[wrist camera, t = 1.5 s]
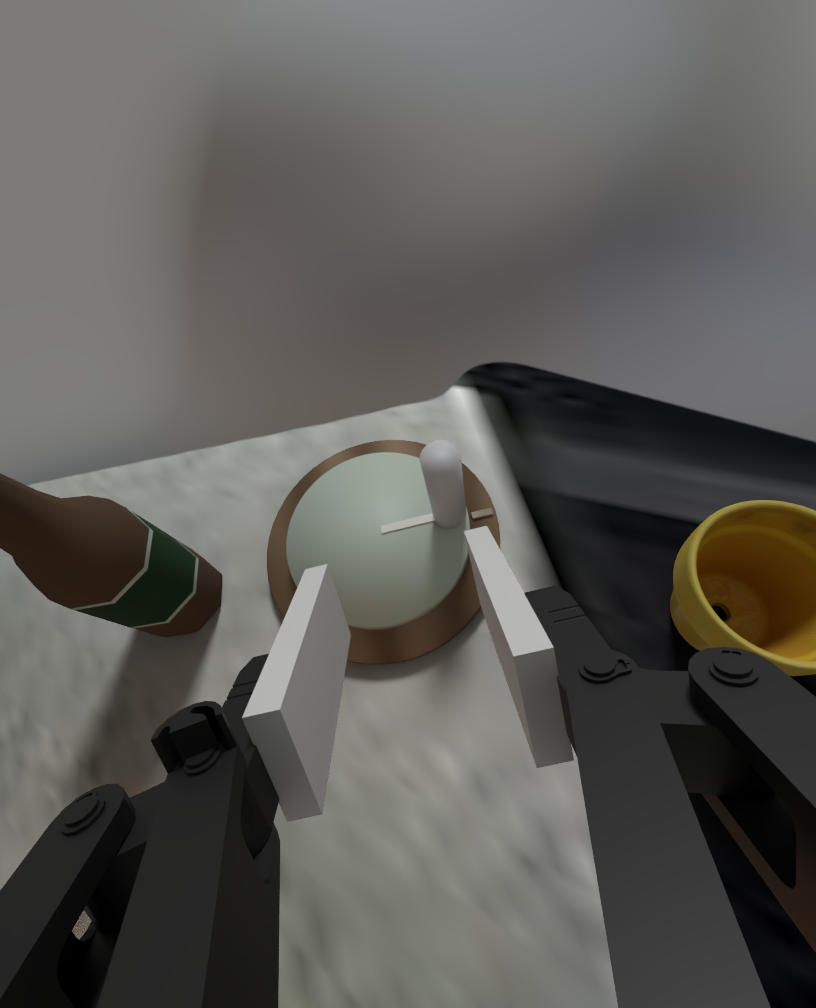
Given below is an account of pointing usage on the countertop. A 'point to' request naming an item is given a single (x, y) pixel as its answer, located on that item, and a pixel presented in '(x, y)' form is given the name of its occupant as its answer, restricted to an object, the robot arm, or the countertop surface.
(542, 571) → the countertop surface
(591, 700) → the robot arm
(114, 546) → the beer bottle
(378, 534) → the capstan dial
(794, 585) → the plant pot
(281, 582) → the walnut base
